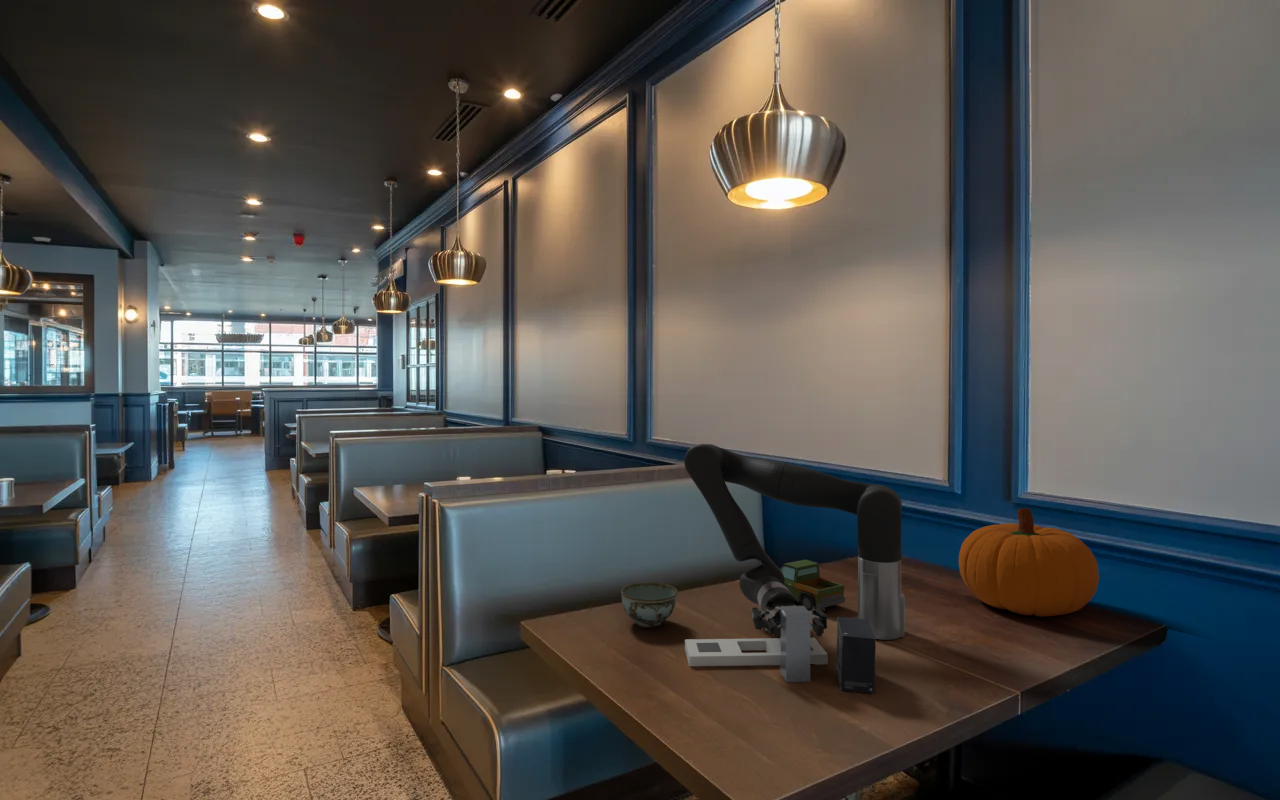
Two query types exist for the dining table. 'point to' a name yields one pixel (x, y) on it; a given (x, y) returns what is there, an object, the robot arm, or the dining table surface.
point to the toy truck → (811, 585)
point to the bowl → (649, 602)
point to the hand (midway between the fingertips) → (798, 631)
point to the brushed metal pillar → (795, 643)
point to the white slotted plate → (731, 655)
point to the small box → (855, 655)
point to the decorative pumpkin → (1028, 568)
